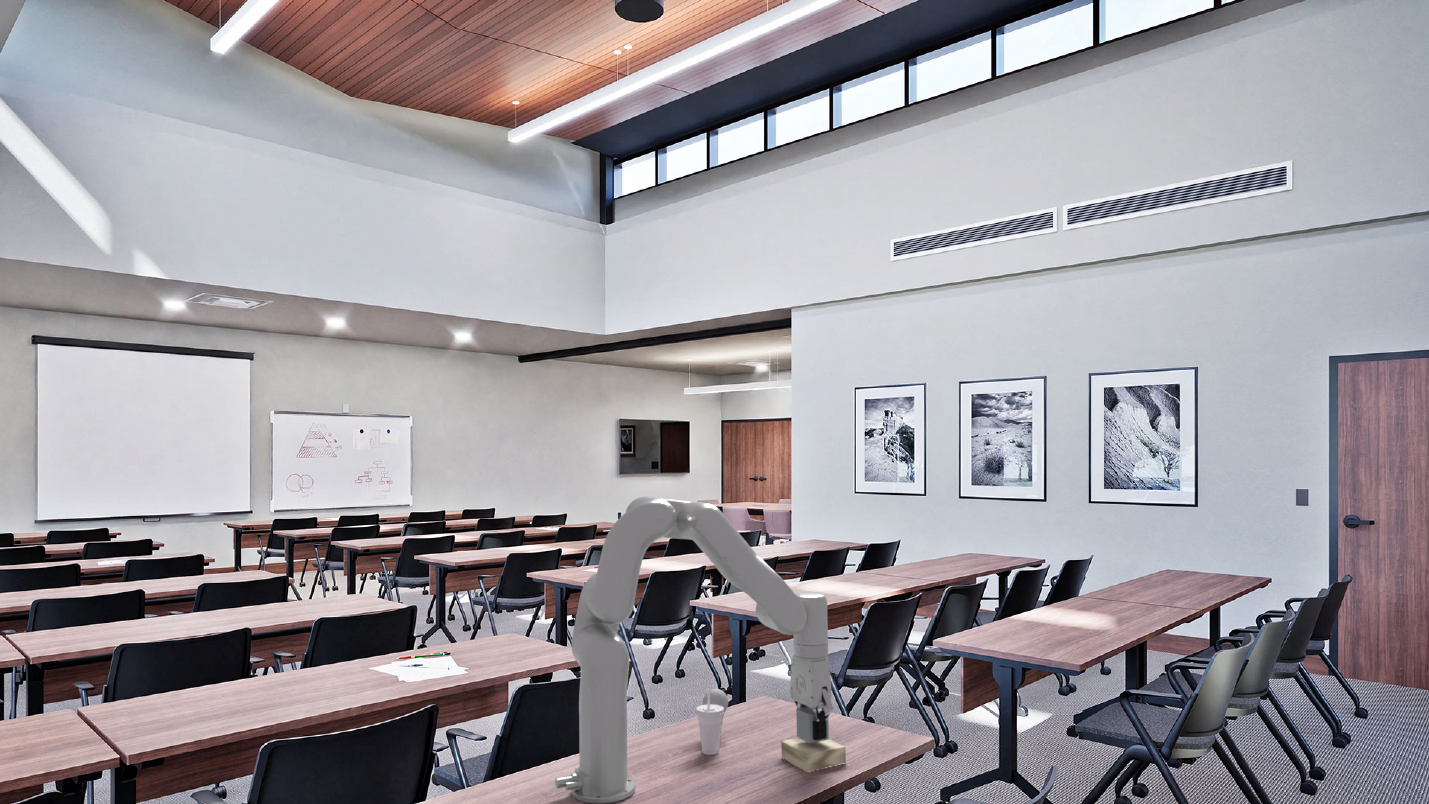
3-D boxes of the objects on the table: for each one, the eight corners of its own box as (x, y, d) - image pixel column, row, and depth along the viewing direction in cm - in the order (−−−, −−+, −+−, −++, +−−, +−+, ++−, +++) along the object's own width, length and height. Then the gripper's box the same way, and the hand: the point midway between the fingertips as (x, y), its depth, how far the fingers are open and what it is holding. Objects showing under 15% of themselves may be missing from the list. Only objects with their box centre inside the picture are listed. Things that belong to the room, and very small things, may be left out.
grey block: (809, 743, 180) (809, 714, 181) (796, 736, 185) (796, 708, 185) (828, 739, 183) (828, 711, 183) (815, 733, 187) (815, 705, 188)
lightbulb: (699, 734, 202) (698, 687, 203) (722, 730, 205) (721, 684, 205) (709, 742, 197) (709, 693, 197) (733, 738, 199) (732, 690, 200)
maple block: (806, 774, 177) (806, 754, 177) (781, 759, 186) (781, 741, 186) (845, 765, 181) (845, 746, 182) (819, 751, 190) (819, 733, 190)
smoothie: (691, 754, 189) (690, 690, 190) (704, 745, 194) (704, 683, 195) (716, 758, 186) (715, 693, 187) (729, 749, 191) (728, 686, 192)
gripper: (776, 645, 191) (777, 727, 190) (818, 660, 176) (820, 750, 175) (803, 641, 194) (805, 722, 193) (847, 656, 179) (849, 744, 178)
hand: (812, 734), depth 184 cm, fingers closed on grey block, 5 cm apart
